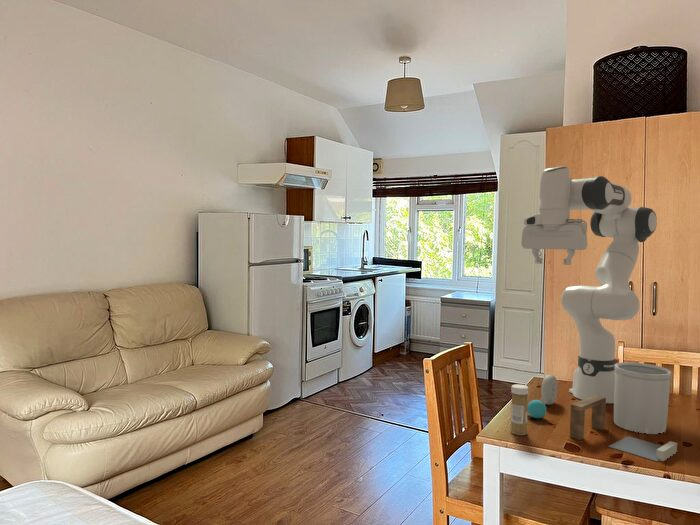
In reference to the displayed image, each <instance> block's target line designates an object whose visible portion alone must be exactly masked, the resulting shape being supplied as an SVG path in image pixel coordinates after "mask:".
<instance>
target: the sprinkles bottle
mask: <svg viewBox="0 0 700 525" xmlns="http://www.w3.org/2000/svg"><path fill="white" fill-rule="evenodd" d="M510 390H511V391H510V392H511V409H510V411H511V412H510V413H511V415H510V433H511V434H513V435H515V434H516V435H515V436H526V435H527V434H528V396H529V387H528V386H527V385H525V384H516V383H515V384H511V389H510Z"/></svg>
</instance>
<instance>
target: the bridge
mask: <svg viewBox="0 0 700 525" xmlns="http://www.w3.org/2000/svg"><path fill="white" fill-rule="evenodd" d="M606 406H607V403H606V397H601V396H597V395H595V396H592V397H589V398H586V399H584V400H581V399H580V400H578V401H575V402H573V403H571V404H570V416H569V417H570V419H569V420H570V421H569V424H570V425H569V428H570V429H569V437H570V438H572V439H575V440H579V441H582V440H584V439H585V416H586V414H585V412H586V410H588V409H590V408H591V423H590V424H591V426H590V427H591V428H592V429H596V430H600V431H603V430H605V429H606V410H607V409H606Z"/></svg>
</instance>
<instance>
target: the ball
mask: <svg viewBox="0 0 700 525" xmlns="http://www.w3.org/2000/svg"><path fill="white" fill-rule="evenodd" d="M527 413H528V414H529V415H530V416H531V417H532V418H534V419H542V418H543V417H544V416H546V413H547V406H546V403H544V402H543V400H539V399H533V400H531V401H529V403H527Z"/></svg>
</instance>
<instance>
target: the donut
mask: <svg viewBox="0 0 700 525" xmlns="http://www.w3.org/2000/svg"><path fill="white" fill-rule="evenodd" d="M558 389H559V385H558V380H557V377H556V376H555V375H553V374H547V375H545V376H544V377H543V380H542V383H541V389H540V392H541V394H540V395H541V399H542V400H541V401H542V402H543V403H544V404H545V405H547V406H551V405H553V404H554V403H555V402H556V399H557V397H558V396H557V395H558Z"/></svg>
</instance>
